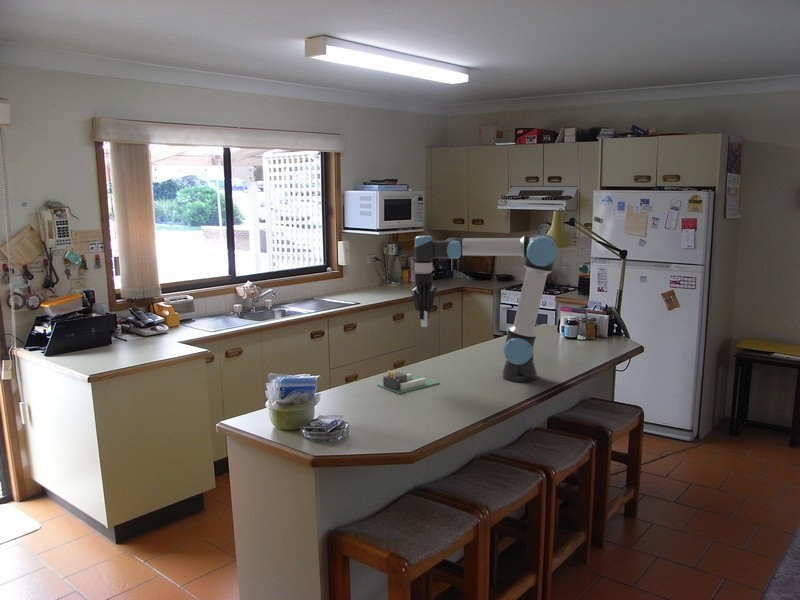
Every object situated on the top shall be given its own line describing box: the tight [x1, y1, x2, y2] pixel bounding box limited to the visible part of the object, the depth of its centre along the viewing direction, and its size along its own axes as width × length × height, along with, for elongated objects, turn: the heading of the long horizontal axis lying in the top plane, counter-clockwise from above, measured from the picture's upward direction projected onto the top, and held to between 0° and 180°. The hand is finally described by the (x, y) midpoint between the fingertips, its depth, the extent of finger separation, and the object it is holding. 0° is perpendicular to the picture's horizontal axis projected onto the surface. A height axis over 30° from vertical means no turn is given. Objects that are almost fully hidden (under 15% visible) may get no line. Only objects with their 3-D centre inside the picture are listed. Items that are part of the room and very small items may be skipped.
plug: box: [390, 371, 407, 383], centre depth 284 cm, size 6×5×5 cm
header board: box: [377, 369, 440, 394], centre depth 287 cm, size 15×22×8 cm
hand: (424, 326), depth 289 cm, fingers closed
